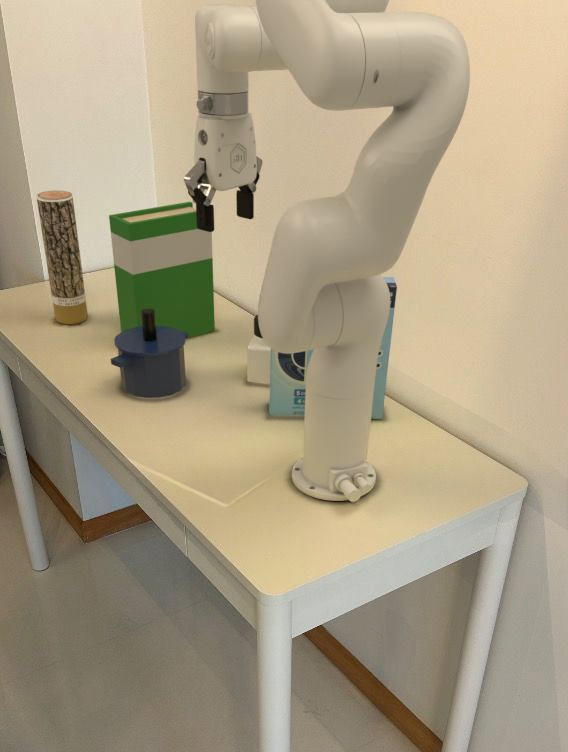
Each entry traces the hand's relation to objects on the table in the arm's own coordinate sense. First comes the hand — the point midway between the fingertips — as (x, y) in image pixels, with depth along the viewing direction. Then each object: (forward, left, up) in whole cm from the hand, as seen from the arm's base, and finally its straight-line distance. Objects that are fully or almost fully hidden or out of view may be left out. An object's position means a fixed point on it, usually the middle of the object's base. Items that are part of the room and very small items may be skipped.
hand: (225, 223), depth 130 cm
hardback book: (+26, +4, -28) cm, 39 cm away
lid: (+4, +13, -20) cm, 24 cm away
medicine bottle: (0, -8, -28) cm, 30 cm away
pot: (+4, +13, -28) cm, 31 cm away
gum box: (-16, -12, -28) cm, 35 cm away
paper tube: (+41, +21, -28) cm, 54 cm away
